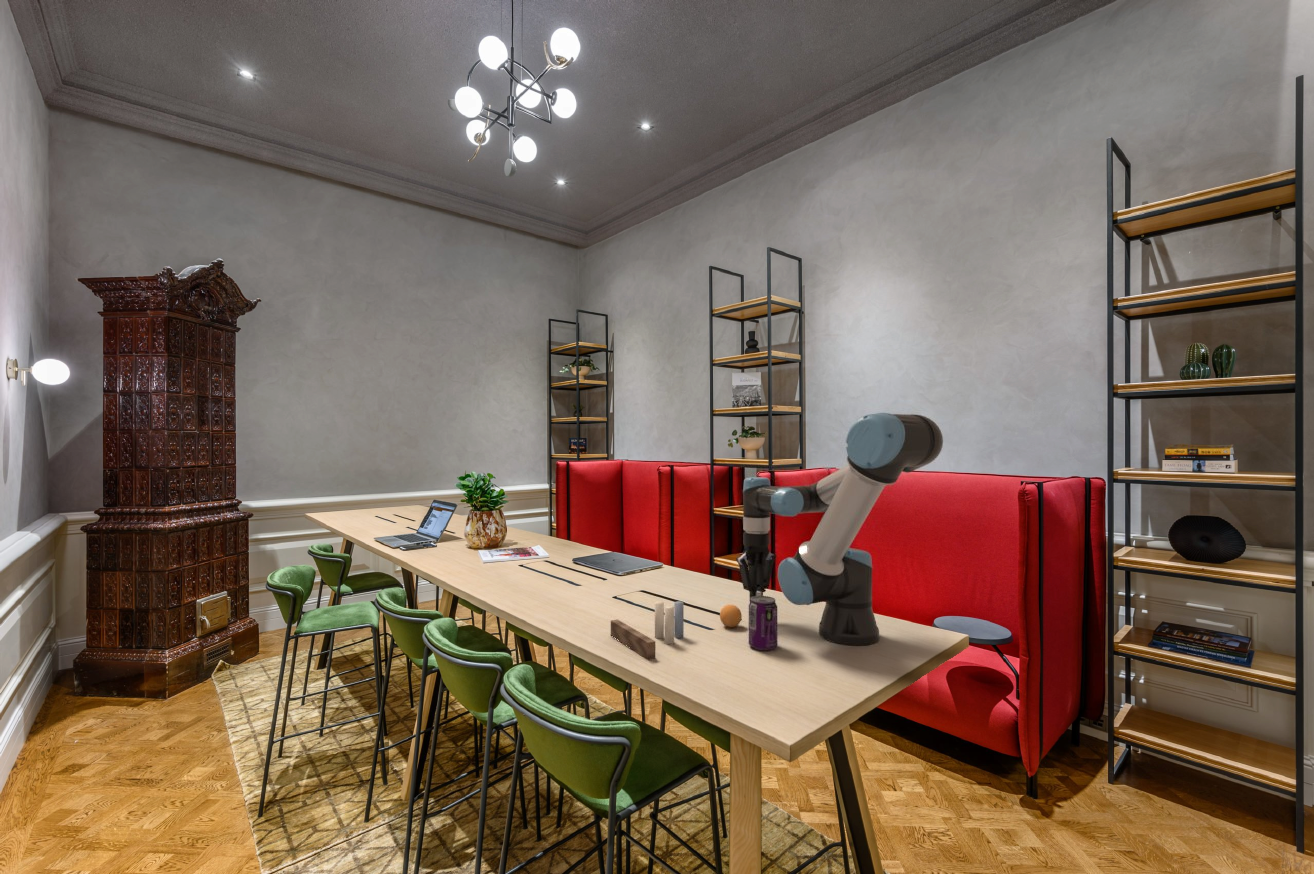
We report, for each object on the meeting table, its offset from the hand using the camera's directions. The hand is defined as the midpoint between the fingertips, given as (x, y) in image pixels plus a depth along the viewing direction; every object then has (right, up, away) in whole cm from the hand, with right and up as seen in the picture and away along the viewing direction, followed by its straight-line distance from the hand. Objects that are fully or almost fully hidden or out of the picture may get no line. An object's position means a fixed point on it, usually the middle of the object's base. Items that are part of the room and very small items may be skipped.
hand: (756, 614), depth 168 cm
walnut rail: (-35, -2, -21) cm, 40 cm away
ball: (-8, +1, -5) cm, 9 cm away
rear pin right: (-28, -2, -14) cm, 31 cm away
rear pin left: (-25, -2, -18) cm, 31 cm away
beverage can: (-2, -2, -21) cm, 21 cm away
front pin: (-23, -2, -13) cm, 26 cm away
